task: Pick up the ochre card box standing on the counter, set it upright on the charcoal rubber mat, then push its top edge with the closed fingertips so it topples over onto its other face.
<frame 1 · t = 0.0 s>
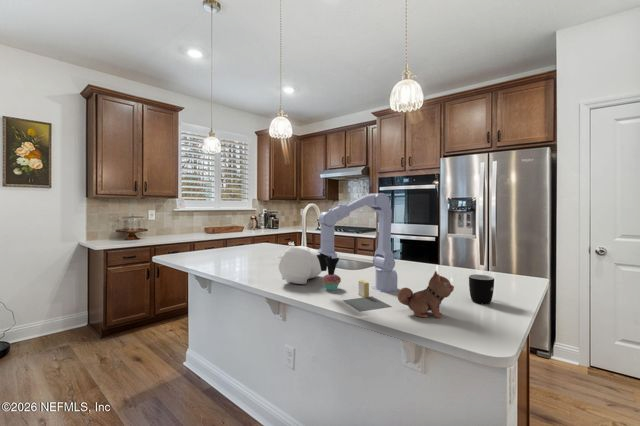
hand: (327, 272, 132), 10 cm above the table, tool pointing down, fingers open, 7 cm apart
figurine: (425, 314, 112), on the table
cupcake: (331, 290, 143), on the table
mug: (481, 301, 127), on the table
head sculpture: (300, 280, 161), on the table
mat: (366, 304, 122), on the table
card box: (363, 296, 132), on the table, touching mat
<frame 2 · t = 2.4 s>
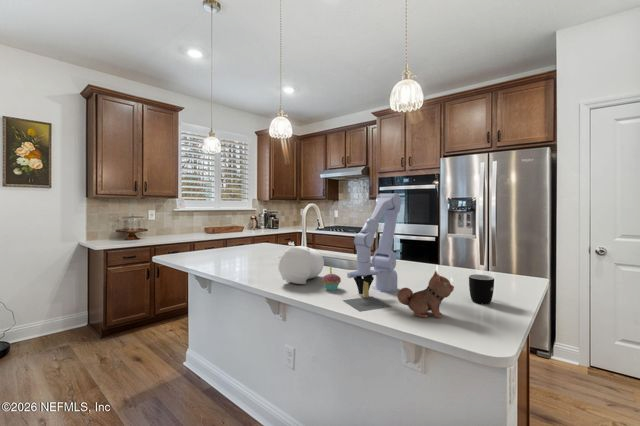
hand: (363, 293, 132), 1 cm above the table, tool pointing down, fingers closed on card box, 2 cm apart
card box: (363, 296, 132), on the table, tilted 5°, touching gripper, mat
everything else where it was.
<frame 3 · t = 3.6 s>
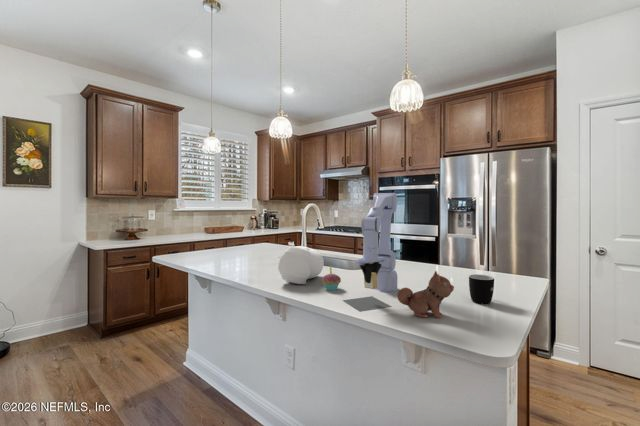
hand: (370, 282, 123), 8 cm above the table, tool pointing down, fingers closed on card box, 2 cm apart
card box: (370, 288, 123), point 6 cm above the table, tilted 6°, touching gripper
everything else where it was.
when the fingers open (3 cm above the table, at t = 4.9 s): card box stays where it is, resting on mat.
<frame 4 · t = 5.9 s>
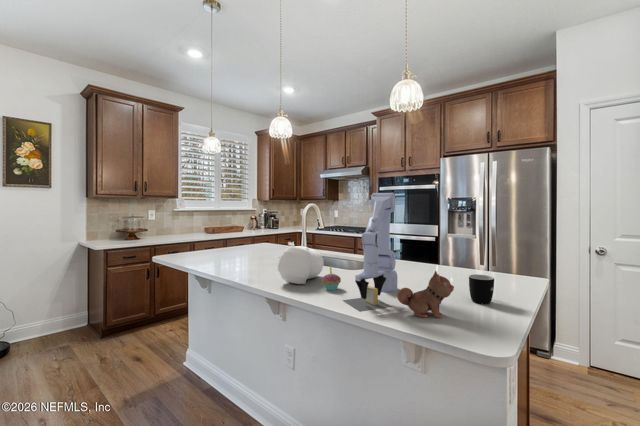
hand: (370, 296, 123), 3 cm above the table, tool pointing down, fingers open, 7 cm apart
card box: (371, 302, 123), resting on mat
everything else where it was.
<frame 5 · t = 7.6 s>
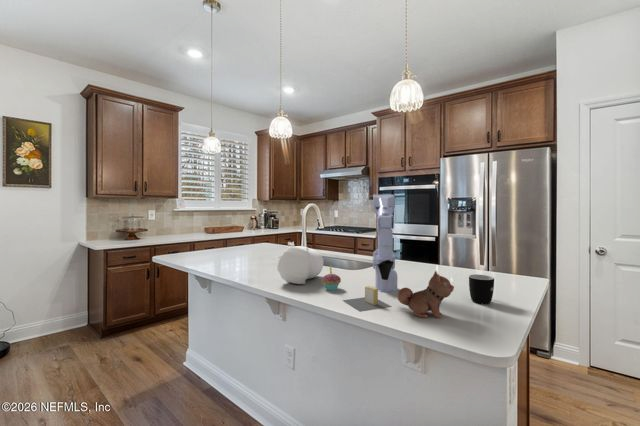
hand: (384, 279, 125), 9 cm above the table, tool pointing down, fingers closed
nothing on the table moved.
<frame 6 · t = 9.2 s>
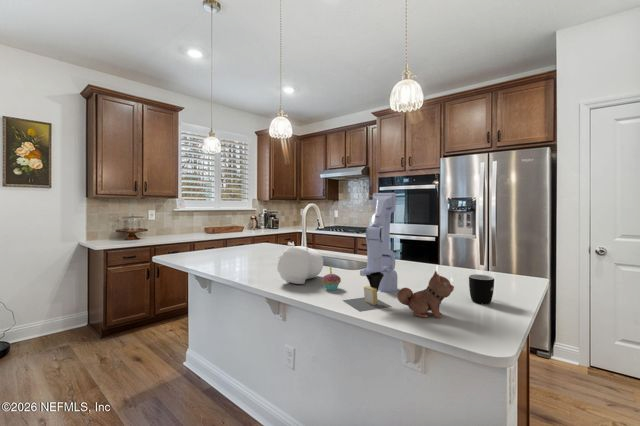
hand: (374, 291, 123), 5 cm above the table, tool pointing down, fingers closed
card box: (371, 302, 123), point 1 cm above the table, tilted 6°, touching mat
everything else where it was.
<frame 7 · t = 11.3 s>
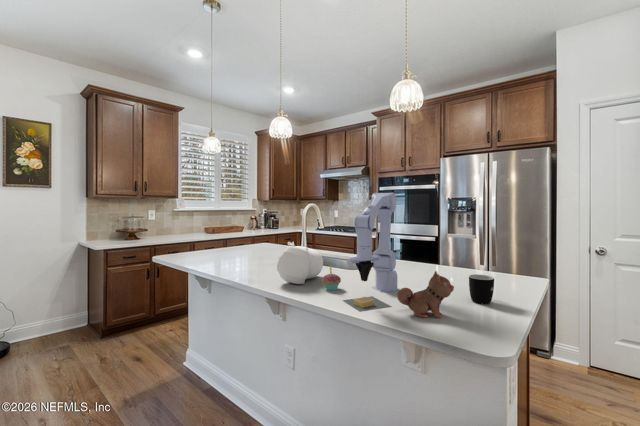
hand: (364, 280, 122), 9 cm above the table, tool pointing down, fingers closed
card box: (369, 300, 122), point 1 cm above the table, tilted 90°, touching mat
everything else where it was.
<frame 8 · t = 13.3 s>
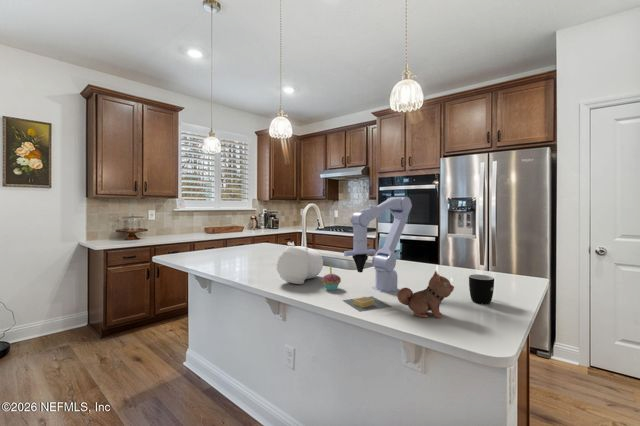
hand: (360, 271, 135), 10 cm above the table, tool pointing down, fingers closed
nothing on the table moved.
at the end: card box tilted 90°; card box inside the target area on the mat (1.2 cm from its centre), point 1.5 cm above the mat's base; the gripper is holding nothing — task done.
